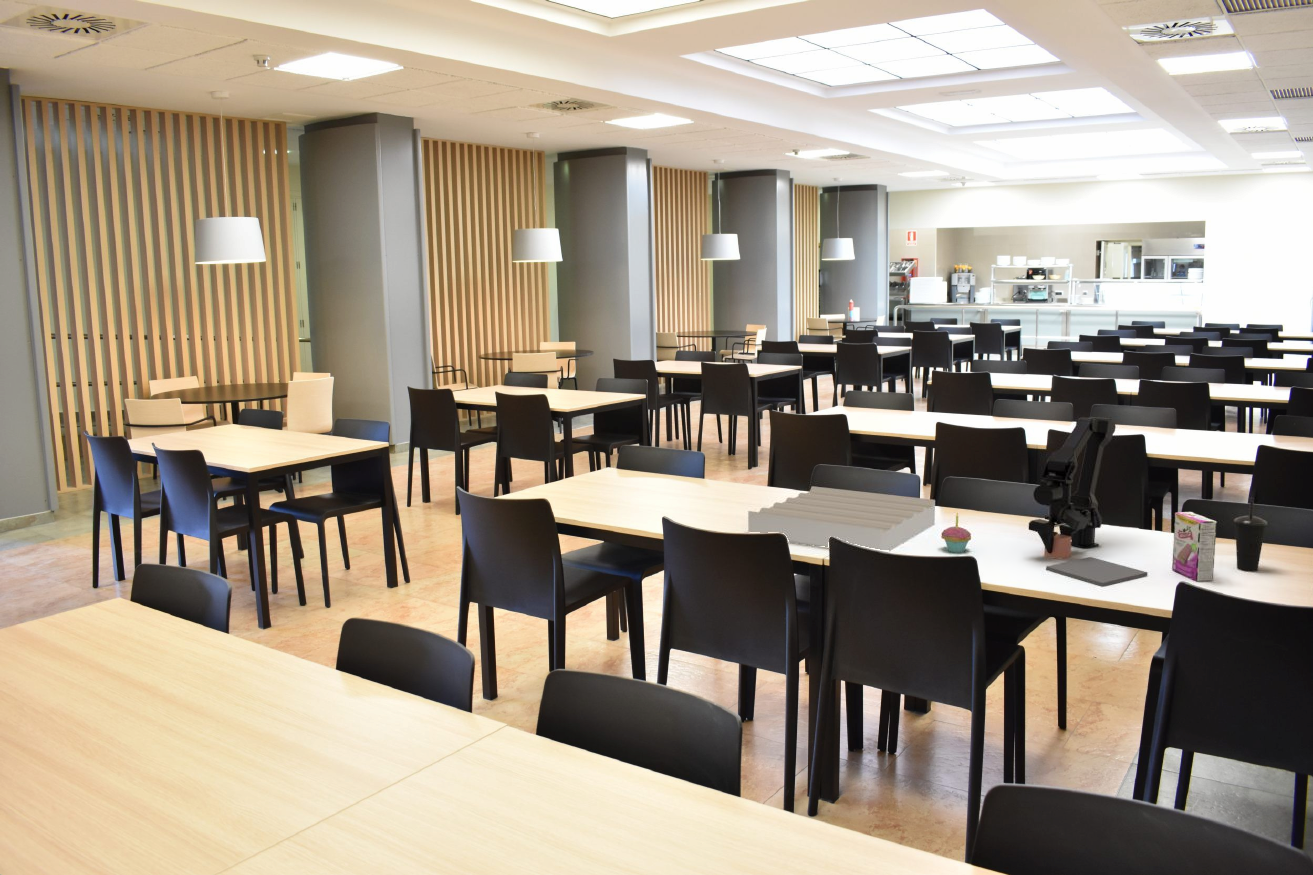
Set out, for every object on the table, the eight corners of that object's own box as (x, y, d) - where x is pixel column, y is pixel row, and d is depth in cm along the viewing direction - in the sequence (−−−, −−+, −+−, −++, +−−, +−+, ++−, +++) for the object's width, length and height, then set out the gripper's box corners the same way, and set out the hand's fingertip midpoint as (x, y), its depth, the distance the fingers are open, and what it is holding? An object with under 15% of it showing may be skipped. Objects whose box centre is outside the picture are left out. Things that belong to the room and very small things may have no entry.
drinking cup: (1224, 565, 271) (1229, 495, 268) (1250, 564, 271) (1255, 494, 268) (1243, 573, 263) (1248, 501, 260) (1270, 572, 264) (1275, 500, 261)
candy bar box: (1170, 570, 268) (1173, 511, 265) (1187, 569, 268) (1191, 511, 266) (1195, 582, 257) (1199, 521, 254) (1214, 581, 257) (1218, 520, 255)
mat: (1090, 560, 279) (1090, 556, 279) (1147, 575, 263) (1147, 572, 263) (1046, 569, 271) (1046, 566, 270) (1102, 586, 255) (1102, 582, 255)
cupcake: (972, 554, 287) (973, 514, 285) (942, 553, 289) (943, 514, 287) (968, 547, 296) (970, 508, 294) (939, 546, 297) (940, 507, 295)
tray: (811, 510, 350) (811, 486, 348) (934, 526, 324) (935, 499, 322) (748, 538, 314) (748, 510, 312) (880, 558, 288) (881, 528, 286)
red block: (1056, 553, 287) (1056, 533, 286) (1070, 556, 283) (1071, 536, 282) (1044, 555, 285) (1045, 535, 284) (1058, 559, 281) (1059, 539, 280)
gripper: (1060, 508, 270) (1058, 563, 272) (1105, 500, 279) (1103, 553, 281) (1028, 501, 280) (1026, 554, 282) (1072, 493, 288) (1070, 545, 291)
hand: (1057, 551), depth 284 cm, fingers open, 6 cm apart
